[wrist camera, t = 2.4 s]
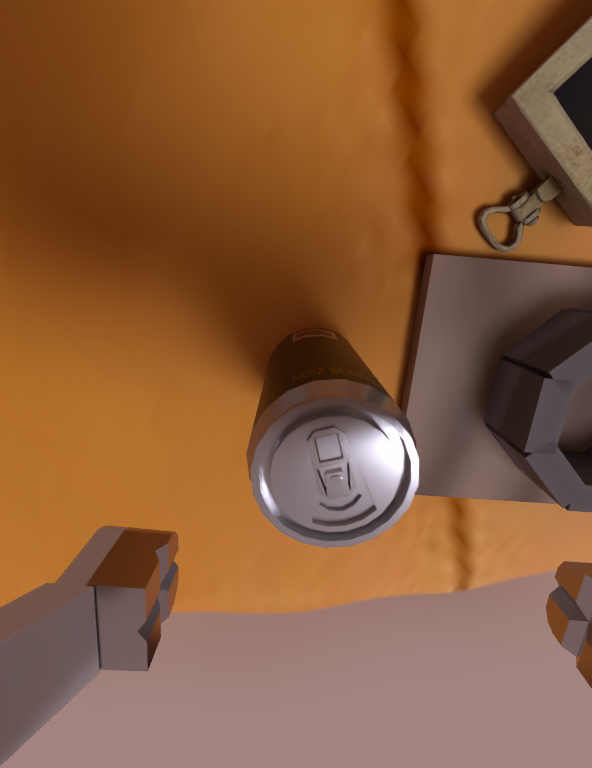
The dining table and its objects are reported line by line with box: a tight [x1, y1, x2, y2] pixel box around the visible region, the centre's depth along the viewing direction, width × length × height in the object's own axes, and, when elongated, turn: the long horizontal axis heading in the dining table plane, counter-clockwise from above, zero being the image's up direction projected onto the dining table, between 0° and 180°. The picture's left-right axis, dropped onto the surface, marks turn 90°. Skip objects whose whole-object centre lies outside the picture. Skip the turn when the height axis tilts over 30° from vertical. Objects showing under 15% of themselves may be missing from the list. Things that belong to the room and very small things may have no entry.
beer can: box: [247, 328, 419, 548], centre depth 17 cm, size 5×5×12 cm
